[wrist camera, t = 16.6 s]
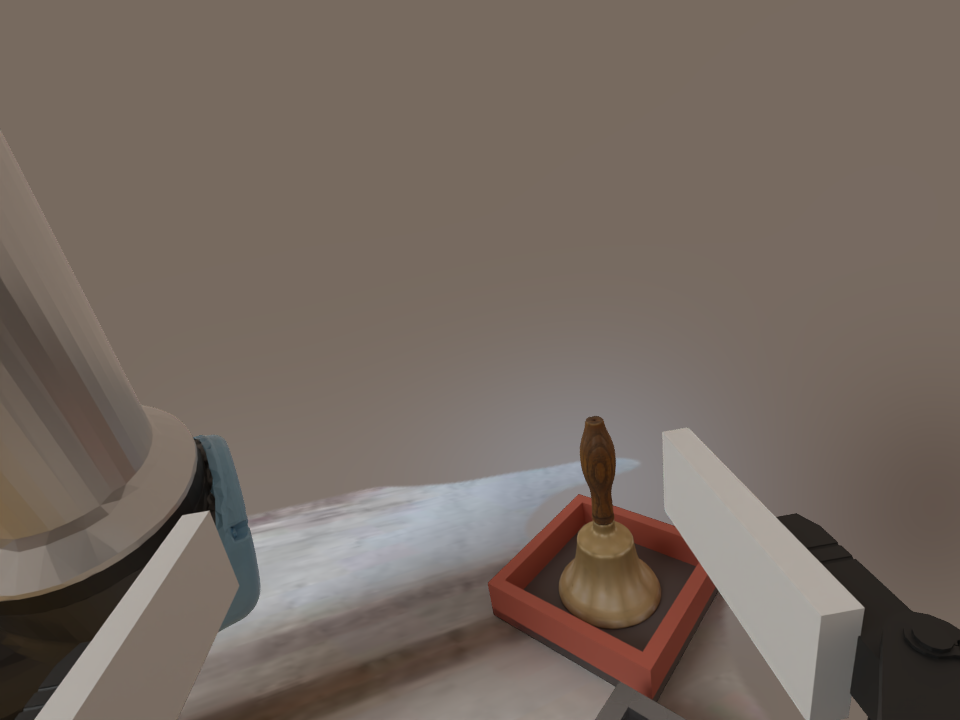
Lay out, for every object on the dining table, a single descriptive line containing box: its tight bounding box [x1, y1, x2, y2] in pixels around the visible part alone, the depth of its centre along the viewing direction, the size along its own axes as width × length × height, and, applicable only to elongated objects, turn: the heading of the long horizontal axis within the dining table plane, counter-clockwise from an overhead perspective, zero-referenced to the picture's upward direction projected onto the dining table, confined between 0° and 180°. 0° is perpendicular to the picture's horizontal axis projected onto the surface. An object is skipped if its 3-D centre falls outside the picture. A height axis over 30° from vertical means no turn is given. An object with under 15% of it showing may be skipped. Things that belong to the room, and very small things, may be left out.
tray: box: [488, 494, 718, 702], centre depth 43 cm, size 14×14×3 cm
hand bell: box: [559, 416, 661, 629], centre depth 41 cm, size 8×8×16 cm
